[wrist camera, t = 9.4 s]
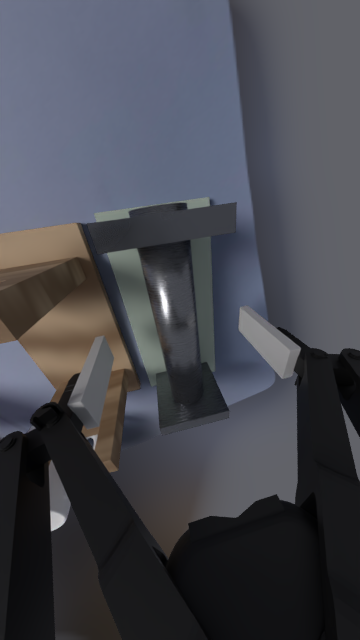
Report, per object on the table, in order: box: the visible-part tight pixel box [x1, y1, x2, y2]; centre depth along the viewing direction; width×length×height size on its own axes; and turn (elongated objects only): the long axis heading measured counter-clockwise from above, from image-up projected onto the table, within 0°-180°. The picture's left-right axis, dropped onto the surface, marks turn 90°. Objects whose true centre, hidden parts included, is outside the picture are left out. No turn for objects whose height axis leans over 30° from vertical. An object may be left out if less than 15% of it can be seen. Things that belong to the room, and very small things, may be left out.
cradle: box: [0, 223, 140, 473], centre depth 15 cm, size 21×10×11 cm, turn 8°
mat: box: [94, 197, 215, 386], centre depth 20 cm, size 22×10×1 cm, turn 8°
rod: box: [87, 202, 237, 435], centre depth 17 cm, size 21×8×8 cm, turn 7°
